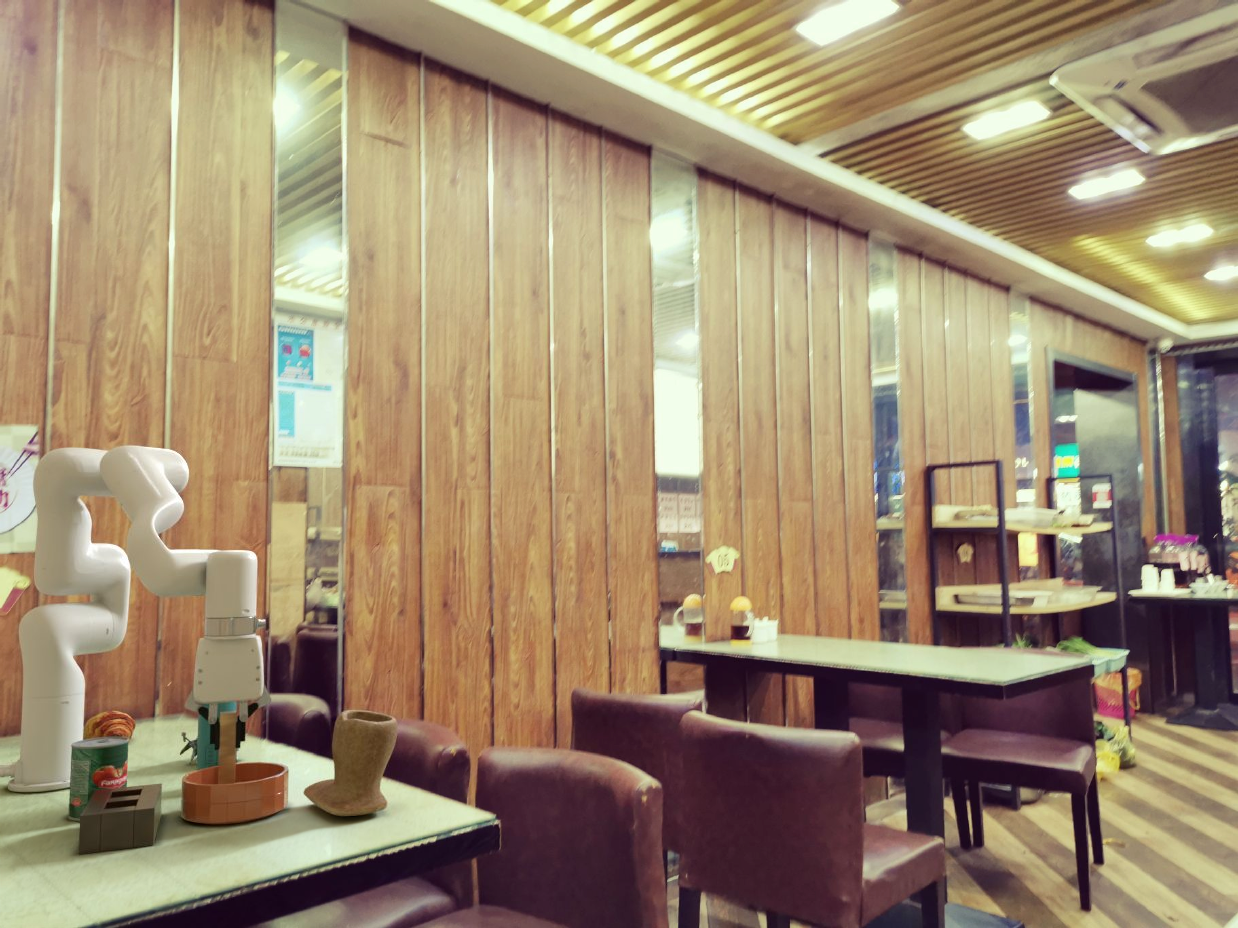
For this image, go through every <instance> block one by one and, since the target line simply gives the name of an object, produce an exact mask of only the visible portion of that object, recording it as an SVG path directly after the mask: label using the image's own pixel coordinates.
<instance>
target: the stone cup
mask: <svg viewBox="0 0 1238 928" xmlns="http://www.w3.org/2000/svg"><path fill="white" fill-rule="evenodd" d="M398 726H399V725H398V721H397V719H396V718H395V717H394V716H391V715H389V714H385V713H381V712H375V711H371V710H364V709H363V710H362V709H346V710H343V711H342V712H340V713H339V714H338V715H337V717H336V720H335V722H334V728H333V734H332V742H331V753H332V759H333V770H334V771H333V772H334V774H333V775H334V777H333V778H330V779H325V780H319V781H317V782H314V783H312V784H310V785H309V786H307V787H305V788H304V789H303V795H304V796H305V797H306V798H307V799H308V800H309V801H310V802H311V803H312V804H314V805H315V806H317V807H318V808H319V809H321V810H323V811H325V812H327V813H328V814H331V815H333V816H336V817H337V816H339V817H354V816H362V815H363V816H364V815H368V814H372V813H373V814H374V813H378V812H380V811H384V810H385V809H386V808H387V807H388V800H387V799H386V798H385V795H383V793H382V791H381V782H382V779H383V775H384V773H385V771H386V767H387V765H388V763H389V761H390V759H391V756H392V755H393V751H394V748H395V746H396V742H397V736H398V728H399V727H398Z"/></svg>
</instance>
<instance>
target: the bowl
mask: <svg viewBox="0 0 1238 928" xmlns="http://www.w3.org/2000/svg"><path fill="white" fill-rule="evenodd" d="M218 771H219V766H213V767H208V768H204V769H199V770H197V769H195V770H193V771H190V772H188V773H186V774H185V775H183V776H182V777H181V795H180V797H181V799H180V817H181V818H182V819H184V821H188V822H192V823H197V824H204V825H233V824H238V823H246V822H252V821H257V820H260V819H263V818H266V817H268V816H271V815H273V814H276V813H278V812H280V811H282V810H284V809H285V808H286V807H287V806H288V805H289V766H287V765H285V764H283V763H277V762H269V761H267V762H266V761H254V762H253V761H250V762H237V763H236V764H235V783H232V784H218Z"/></svg>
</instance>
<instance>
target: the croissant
mask: <svg viewBox="0 0 1238 928" xmlns="http://www.w3.org/2000/svg"><path fill="white" fill-rule="evenodd" d="M136 726H137V725H136V721H135V720H134V719H133V718H132V717H131V716H130V715H129V714H127V713H124V712H121V711H118V710H109V711H104V712H100V713H98V714H96V715H94V716H93V717H90V718H89V719H88V720H87V721H86V722H85V724H84V726H83V740H86V739H92V738H100V737H126V738H129V740H131V738H132V736H133V734H134V731H135V729H136Z"/></svg>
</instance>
